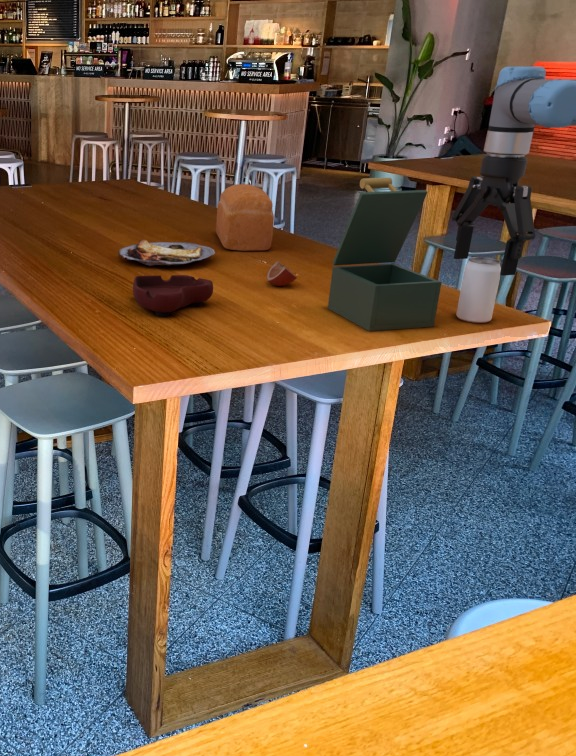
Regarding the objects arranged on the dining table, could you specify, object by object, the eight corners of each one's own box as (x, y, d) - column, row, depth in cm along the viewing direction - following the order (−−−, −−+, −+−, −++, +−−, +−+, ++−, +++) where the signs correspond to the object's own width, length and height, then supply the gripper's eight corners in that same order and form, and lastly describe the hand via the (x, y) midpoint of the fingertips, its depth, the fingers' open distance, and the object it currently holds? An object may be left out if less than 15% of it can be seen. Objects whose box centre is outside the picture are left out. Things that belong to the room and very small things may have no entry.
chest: (433, 326, 155) (441, 282, 152) (369, 331, 152) (375, 285, 149) (387, 304, 170) (393, 263, 166) (327, 308, 167) (332, 266, 164)
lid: (428, 192, 154) (408, 170, 159) (362, 194, 151) (345, 172, 156) (394, 262, 166) (378, 240, 171) (333, 265, 163) (318, 243, 169)
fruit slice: (262, 280, 189) (264, 259, 187) (291, 280, 189) (293, 260, 187) (269, 289, 181) (271, 268, 180) (299, 289, 181) (301, 268, 179)
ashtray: (160, 290, 181) (161, 268, 179) (219, 303, 170) (220, 281, 169) (107, 305, 170) (107, 282, 168) (166, 321, 159) (168, 297, 157)
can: (492, 317, 161) (504, 259, 156) (489, 325, 156) (501, 265, 151) (458, 312, 164) (468, 255, 159) (453, 320, 159) (464, 261, 154)
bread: (222, 251, 219) (226, 193, 213) (214, 232, 243) (217, 180, 238) (273, 252, 218) (278, 193, 212) (259, 233, 242) (264, 180, 236)
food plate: (103, 263, 206) (103, 249, 205) (140, 246, 225) (141, 234, 224) (194, 274, 195) (195, 260, 194) (225, 255, 214) (226, 243, 212)
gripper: (575, 162, 137) (547, 281, 145) (478, 147, 160) (458, 251, 168) (537, 163, 136) (511, 283, 144) (445, 148, 159) (427, 253, 167)
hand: (483, 266), depth 156 cm, fingers open, 13 cm apart
